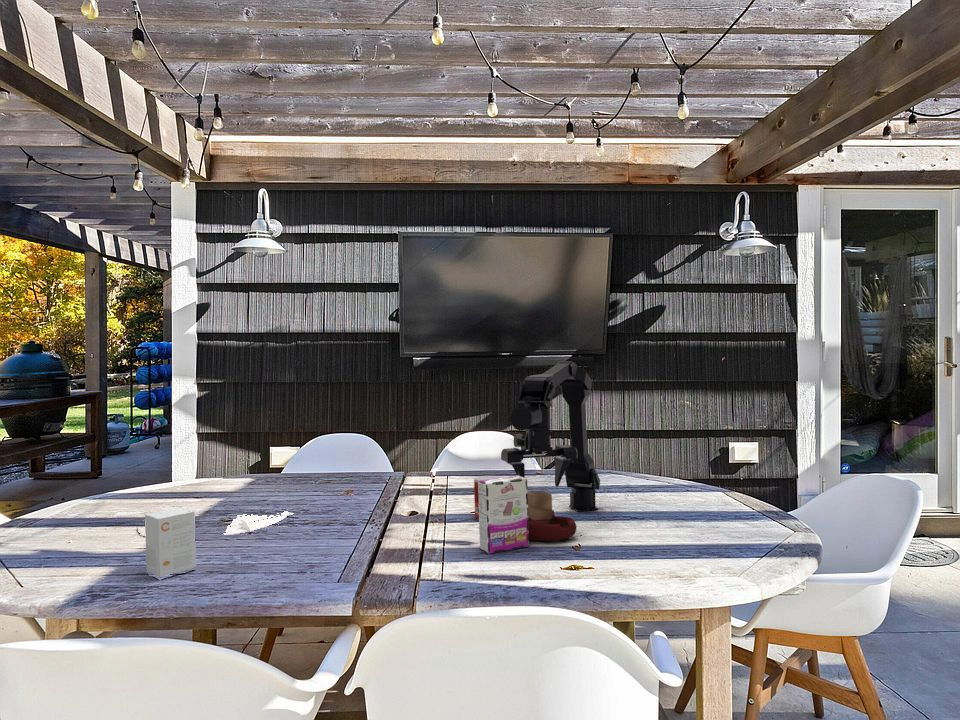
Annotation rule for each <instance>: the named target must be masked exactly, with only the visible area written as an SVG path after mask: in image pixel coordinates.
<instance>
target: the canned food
mask: <svg viewBox="0 0 960 720" xmlns="http://www.w3.org/2000/svg"><path fill="white" fill-rule="evenodd" d="M494 478H501V476H498V475H497V476H496V475H481V476H476V477H474V479H473V484H474V485H473V487H474V489H473V490H474V492H473V494H474V496H473V497H474V517H475V519H478V520H479V499H478V481H479V480H486V479H494Z"/></svg>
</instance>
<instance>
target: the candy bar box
mask: <svg viewBox="0 0 960 720" xmlns="http://www.w3.org/2000/svg"><path fill="white" fill-rule="evenodd" d="M500 477H501V476H500ZM528 492H529V491H528V478H527V477H522V476H518V475H512V476H511V475H510V476H502V477H501V478H494V479H486V480H479V481H478V499H479V519H478V522H479V523H478V525H479V526H478V527H479V529H478V530H479V548H480V550H481V551H483V552H485V553H487V554H488V555H489V554H491V555H492V554H495V553H501V552H506V551H512V550H518V549H522V548H528V547H530V541H529V525H528Z"/></svg>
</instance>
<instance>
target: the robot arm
mask: <svg viewBox="0 0 960 720" xmlns="http://www.w3.org/2000/svg"><path fill="white" fill-rule="evenodd" d="M592 382H593V381H592V379H591V377H590V375H589V373H588V372H587V370H584V369H583V368H581V367H579V366H578V365H577V364H576V362H574V361H558V362H556V363H555V365H554V366H551V368H549V369H548V370H546V371H545V372H543V373H541V374H534V375H533V374H532V375H528V376H525V379H524V380H523V381H522V384H521V388H520V391H519V393H518V398H517V400H516V404H517V407H516V408H514V409H513V410H512V412H511V413H510V423H511V426H512V427H513V428H514V429H516V430H517V431H525V435H523V434H522V433H515V434H513V446H514V447H510V448H508V447H507V448H502V450H501V452H500V460H501V461H503V462H505V463H506V464H507V465H510V466H511V467H512V468H513V471H514V472H515V474H516V475H515V476H517V475H518V476H522V477H525V472H526V471H525V470H526V469H525V463H524V462H522V461H523V460H524V459H532V458H533V459H535V458H548V457H553V460H554V461H553V462H554V486H555V487H557V488H558V487H559V485H561V484H560V483H561V482H562V479H563V476H564V477H565V482H566V487H567V488H570V489H571V490H570V491H571V492H569V505H568V506H569V507H570V508H571V509H573V510H575V511H577V512H586V511H587V512H589V511H597V510H599V507H597V506H596V502H597V501H596V490H600V488H601V487H600V485H601V479H600V476H599V474H598V472H597V470H596V469H595V462H594V460H593V458H592V457H591V455H590V454H589V449H588V432H587V413H586V403H587V402H588V399H589V397H590V396H591V389H592V386H593V383H592ZM556 387H559V388H560V389H561V395H562V398H563V399H564V401H565V403H566V404H567V405H568V420H569V421H568V422H569V437H570V445H569V444H562V445H561V444H560V445H556V444H555V447H554V448H553V446H552V445H551V443H552V442H551V438H552V437H551V436H552V435H553V430H551V407H553V403H552V402H551V401H552V398H553V396H554V395H555V393H556V392H557V391H556ZM519 448H520V449H519ZM525 478H526V477H525Z"/></svg>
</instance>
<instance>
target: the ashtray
mask: <svg viewBox="0 0 960 720" xmlns="http://www.w3.org/2000/svg"><path fill="white" fill-rule="evenodd" d="M528 525H529V542H530V541H531V542H533V541H538V542H539V541H540V542H541V541H542V542H543V541H544V542H547V541H548V542H549V541H551V542H556V541H557V542H558V541H559V542H568V541H569V540H570V538H572V537H573V536H575V534H576V533H577V532H576V531H577V523H576V521H575V519H573V518H572V517H568V516H558V515H555V511H554V509H552V519H542V520H532V519H531V518H529V517H528Z"/></svg>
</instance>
